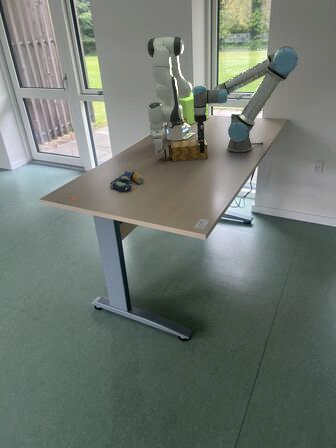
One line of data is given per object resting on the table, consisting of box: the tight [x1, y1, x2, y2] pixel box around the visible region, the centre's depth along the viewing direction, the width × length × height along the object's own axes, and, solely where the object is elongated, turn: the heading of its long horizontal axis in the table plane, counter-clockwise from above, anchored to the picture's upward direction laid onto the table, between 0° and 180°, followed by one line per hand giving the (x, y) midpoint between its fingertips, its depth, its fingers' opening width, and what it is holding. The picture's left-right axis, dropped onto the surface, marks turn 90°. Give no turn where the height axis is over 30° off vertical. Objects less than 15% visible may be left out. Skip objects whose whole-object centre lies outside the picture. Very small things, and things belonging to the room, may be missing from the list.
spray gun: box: [109, 170, 144, 192], centre depth 182 cm, size 21×4×15 cm
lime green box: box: [179, 92, 209, 126], centre depth 283 cm, size 25×21×23 cm
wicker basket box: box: [170, 138, 208, 162], centre depth 210 cm, size 22×11×9 cm, turn 92°
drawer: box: [155, 144, 172, 161], centre depth 210 cm, size 26×10×7 cm, turn 92°
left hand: (159, 153), depth 210 cm, fingers closed, pressing on drawer
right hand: (201, 149), depth 210 cm, fingers closed on wicker basket box, 11 cm apart
